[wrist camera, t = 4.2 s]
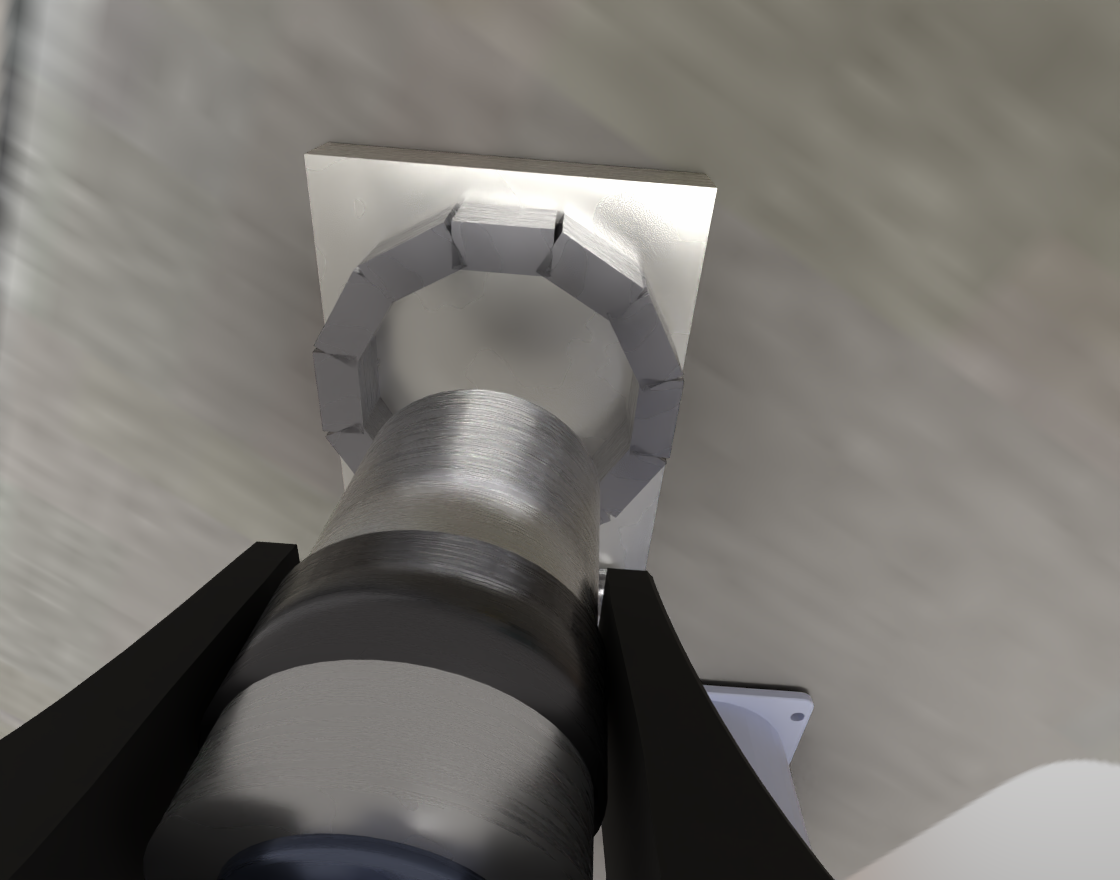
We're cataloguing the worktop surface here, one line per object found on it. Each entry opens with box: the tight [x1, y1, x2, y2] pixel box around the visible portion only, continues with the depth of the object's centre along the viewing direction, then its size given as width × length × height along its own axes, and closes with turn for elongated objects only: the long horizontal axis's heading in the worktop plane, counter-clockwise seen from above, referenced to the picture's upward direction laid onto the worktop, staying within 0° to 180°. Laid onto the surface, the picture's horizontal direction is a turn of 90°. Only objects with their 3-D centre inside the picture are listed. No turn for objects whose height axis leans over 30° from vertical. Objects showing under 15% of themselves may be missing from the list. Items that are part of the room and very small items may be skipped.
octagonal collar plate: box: [304, 142, 717, 626], centre depth 18 cm, size 14×9×3 cm, turn 176°
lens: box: [143, 389, 608, 880], centre depth 10 cm, size 5×5×7 cm
